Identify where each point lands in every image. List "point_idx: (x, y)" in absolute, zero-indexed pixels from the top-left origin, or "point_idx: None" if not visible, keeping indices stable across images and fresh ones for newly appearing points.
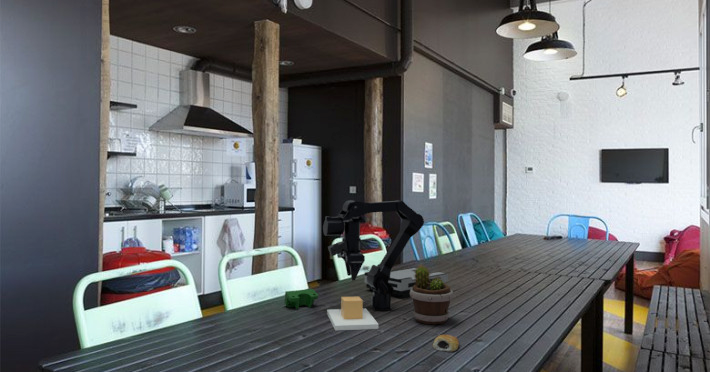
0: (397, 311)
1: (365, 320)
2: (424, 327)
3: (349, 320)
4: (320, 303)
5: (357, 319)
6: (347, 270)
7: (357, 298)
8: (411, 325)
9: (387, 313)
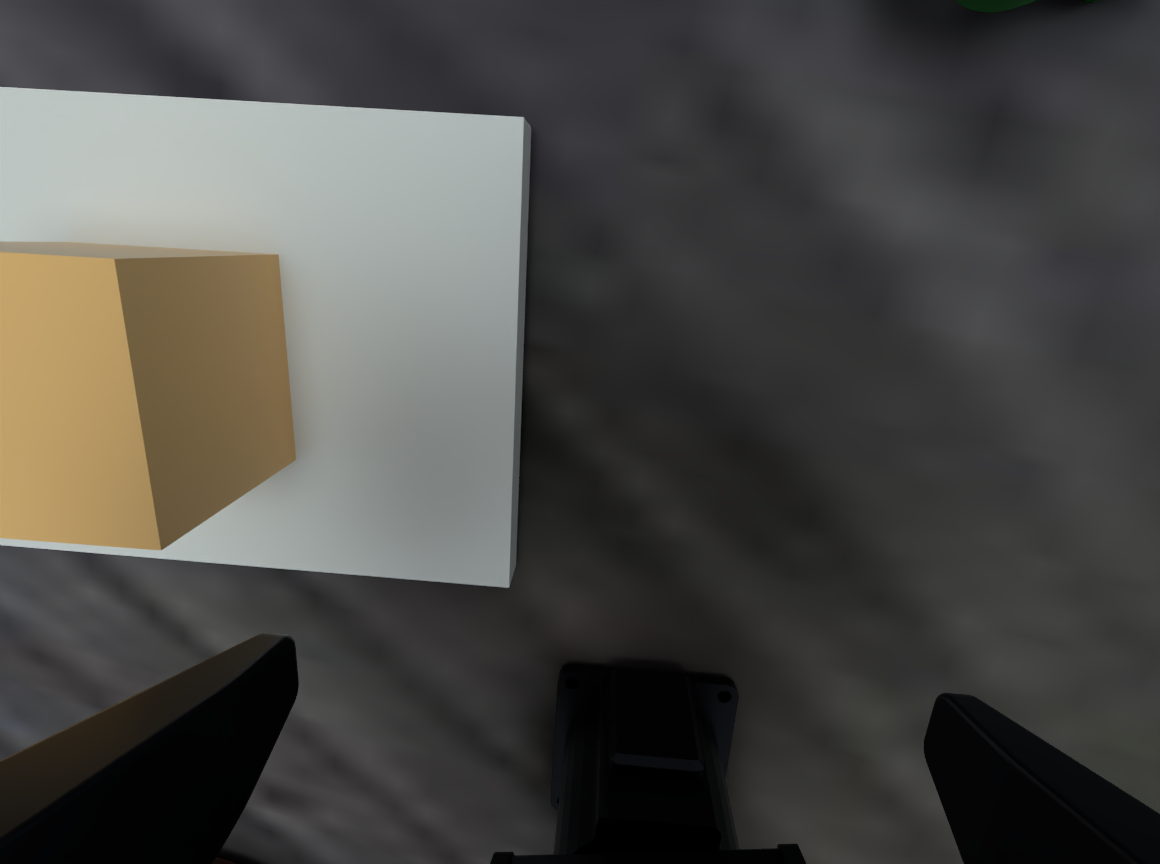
0: (515, 823)
1: None
2: None
3: None
4: (1089, 136)
5: None
6: (1036, 805)
7: (19, 492)
8: None
9: (460, 732)
